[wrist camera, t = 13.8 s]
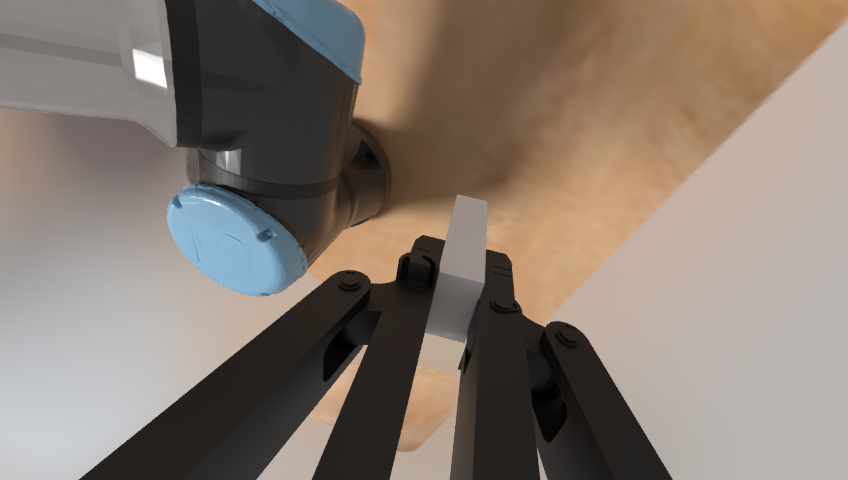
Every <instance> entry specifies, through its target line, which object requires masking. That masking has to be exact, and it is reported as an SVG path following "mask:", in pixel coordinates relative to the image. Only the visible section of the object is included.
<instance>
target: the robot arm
mask: <svg viewBox="0 0 848 480" xmlns="http://www.w3.org/2000/svg"><path fill="white" fill-rule="evenodd" d="M364 48H365V30H364V27H363V24H362V22H361V21H360V19H359V18H358V16H357V15H356V14H355V13H354V12H353V11H352V10H351V9H349V8H348V7H346V6H344V5H343V4H341V3H339V2H338V1H336V0H0V108H5V109H15V110H26V111H27V110H28V111H37V112H48V113H59V114H70V115H81V116H91V117H102V118H113V119H124V120H133V121H135V122H137V123H139V124H141V125H143V126H145V127H146V128H147V129H148V130H150V131H151V132H152V133H154V134H155V135H156V136H157V137H159V138H160V139H161V140H163V141H164V142H165V143H166V144H168V145H169V146H173V147H187V148H198V159H199V181H198V183H196V184H192V185H189V186H185V187H184V188H182V189H181V191H180V193H179V194H178V195H176V196H175V197H173V198H172V200H171V201H170V203H169V206H168V210H167V221H168V226H169V229H170V232H171V234H172V236H173V238H174V240H175V242H176V244H177V245H178V247H179V248H180V250H181V251H182V252H183V254H184V255H185V256H186V257H187V258H188V260H189V261H190V262H191V263H193V264H194V265H195V266H196V267H197V268H198V269H199V270H200V271H201V272H202V273H204V274H205V275H206V276H208V277H209V278H210V279H212V280H214V281H215V282H217V283H218V284H220V285H222V286H224V287H226V288H228V289H230V290H233V291H235V292H238V293H242V294H245V295H250V296H269V295H271V294H277V293H280V292H282V291H284V290H285V289H286V288H287V287H289V286H290V285H291V284H293V283H294V282H295V281H296V280H297V279H299V278H301V277H302V276H303V275H304V274H305V273H306V270H307V269H308V268H309V267H310V266H311V265H312V264H313V262H314V261H315V260H316V259H317V258H318V257H319V256H320V255H321V254H322V253H323V252H324V251H325V249H326V248H327V247H328V246H329V245H330V244H331V243H332V242H333V241H334V240H335V239H336V237H337V236H338V235H339V234H340V233H341V232H342V231H343V230H344V229H347V228H349V227H353V226H357V225H360V224H362V223H364V222H366V221H368V220H369V219H371V218H372V217H373V216H374V215H375V214H376V213H377V212H378V211H379V210H380V208H381V207H382V206H383V205H384V203H385V201H386V199H387V197H388V194H389V191H390V186H391V173H390V167H389V163H388V160H387V158H386V155H385V153H384V151H383V149H382V148H381V146H380V145H379V143H378V142H377V141H376V139H375V138H374V137H373V136H372V135H371V134H370V133H369V132H367V131H366V130H365V129H364V128H362V127H361V126H359V125H357V124H356V123H354V122H352V118H353V113H354V108H355V103H356V98H357V93H358V88H359V85H361V84H362V78H361V76H360V75H361V68H362V61H363V54H364ZM487 206H488V201H484V200H480V199H475V198H471V197H467V196H462V195H458V194H457V197H456V201H455V205H454V209H453V213H452V217H451V221H450V225H449V229H448V233H447V237H446V240H441V239H437V238H433V237H429V236H425V235H422V236H420V237H419V238H417V239H416V240H415V242H414V245H413V247H412V250H411V252H410V253H406V254H404V255H402V256H401V257H400V259H399V263H398V270H397V276H396V280H395V281H392V282H389V283H383V284H371V281H370V279H369V278H368V276H366V275H365V274H363V273H362V272H358V271H354V270H345V271H340V272H337V273H335V274H334V275H332V276H331V277H329V278H328V279H327V280H326V281H324V282H323V283H322V284H321V285H320V286H318V287H317V288H316V289H315V290H313V291H312V292H311V293H310V294H308V295H307V296H306V297H305V298H303V299H302V300H301V301H300V302H298V303H297V304H296V305H295V306H294V307H292V308H291V309H290V310H289V311H287V312H286V313H285V314H284V315H282V316H281V317H280V318H279V319H277V320H276V321H275V322H274V323H273V324H271V325H270V326H269V327H267V328H266V329H265V330H264V331H263V332H261V333H260V334H259V335H258V336H256V337H255V338H254V339H253V340H251V341H250V342H249V343H248V344H246V345H245V346H244V347H243V348H241V349H240V350H239V351H238V352H237V353H235V354H234V355H233V356H231V357H230V358H229V359H228V360H227V361H225V362H224V363H223V364H222V365H221V366H219V367H218V368H217V369H215V370H214V371H213V372H212V373H210V374H209V375H208V376H207V377H205V378H204V379H203V380H202V381H201V382H199V383H198V384H197V385H196V386H194V387H193V388H192V389H191V390H189V391H188V392H187V393H186V394H185V395H183V396H182V397H181V398H179V399H178V400H177V401H176V402H175V403H173V404H172V405H171V406H170V407H168V408H167V409H166V410H165V411H164V412H162V413H161V414H160V415H158V416H157V417H156V418H155V419H153V420H152V421H151V422H150V423H148V424H147V425H146V426H145V427H144V428H142V429H141V430H140V431H138V432H137V433H136V434H135V435H134V436H132V437H131V438H130V439H129V440H127V441H126V442H125V443H124V444H122V445H121V446H120V447H119V448H117V450H115V451H114V452H112V454H110V455H109V456H108V457H106V458H105V459H104V460H103V461H101V462H100V463H99V464H98V465H97V466H95V467H94V468H93V469H92V470H90V471H89V472H88V473H86V474H85V475H84V476H83V477H82V478H80V479H79V480H256V479H257V478H258V477H259V475H260V474H261V473H262V472H263V471H264V469H265V468H266V467H267V466H268V464H269V463H270V462H271V461H272V459H273V458H274V457H275V456H276V454H277V453H278V452H279V451H280V449H281V448H282V447H283V446H284V444H285V443H286V442H287V441H288V439H289V438H290V437H291V436H292V434H293V433H294V432H295V431H296V430H297V428H298V427H299V426H300V425H301V423H302V422H303V421H304V420H305V418H306V417H307V416H308V415H309V414H310V412H311V411H312V410H313V409H314V407H315V406H316V405H317V404H318V402H319V401H320V400H321V399H322V397H323V396H324V395H325V394H326V392H327V391H328V390H329V389H330V388H331V386H332V385H333V384H334V383H335V381H336V380H337V379H338V378H339V376H340V375H341V374H342V373H343V371H344V370H345V369H346V368H347V366H348V365H349V364H350V363H351V362H352V360H353V359H354V358H355V357H356V355H357V354H358V353H359V351H360V350H361V349H362V347H363V345H368V347H367V349H366V352H365V354H364V357H363V359H362V361H361V364H360V366H359V368H358V371H357V373H356V375H355V378H354V380H353V383H352V385H351V387H350V390H349V392H348V394H347V397H346V399H345V402H344V404H343V406H342V409H341V411H340V414H339V416H338V418H337V421H336V423H335V425H334V428H333V430H332V433H331V435H330V437H329V440H328V442H327V445H326V447H325V449H324V452H323V454H322V456H321V459H320V461H319V464H318V466H317V468H316V471H315V473H314V475H313V478H312V480H389V479H390V475H391V471H392V467H393V463H394V459H395V455H396V450H397V446H398V442H399V438H400V434H401V429H402V425H403V421H404V417H405V413H406V409H407V404H408V400H409V396H410V392H411V388H412V383H413V379H414V375H415V371H416V367H417V363H418V358H419V354H420V350H421V345H422V342H423V337H424V333H429V334H432V335H436V336H440V337H444V338H448V339H452V340H455V341H459V342H463V343H465V340H466V337H467V344H466V347H465V350H464V353H463V356H462V359H461V361H460V364H459V367H458V369H459V370H461V377H460V386H459V396H458V406H457V416H456V426H455V435H454V444H453V454H452V464H451V473H450V480H540V475H539V474H540V473H539V466H538V465H539V464H538V455H537V448H538V451H539V454H540V458H541V461H542V463H543V467H544V470H545V473H546V476H547V479H548V480H672V478H671V476H670V474H669V473H668V471H667V469H666V468H665V466H664V464H663V463H662V461H661V459H660V458H659V456H658V454H657V453H656V451H655V450H654V448H653V446H652V445H651V443H650V441H649V440H648V438H647V436H646V435H645V433H644V431H643V430H642V428H641V426H640V425H639V423H638V421H637V420H636V418H635V417H634V415H633V413H632V411H631V410H630V408H629V406H628V405H627V403H626V401H625V400H624V398H623V397H622V395H621V393H620V392H619V390H618V388H617V387H616V385H615V383H614V382H613V380H612V378H611V377H610V375H609V373H608V372H607V370H606V368H605V367H604V365H603V364H602V362H601V360H600V358H599V357H598V355H597V354H596V352H595V350H594V349H593V347H592V345H591V344H590V342H589V340H588V339H587V338H586V336H585V335H584V334H583V333H582V332H581V331H580V330H578V329H577V328H576V327H574V326H572V325H570V324H568V323H564V322H560V321H555V322H551V323H549V324H547V326H546V328H545V327H543V326H541V325H539V324H537V323H535V322H533V321H531V320H530V319H528V318H527V317H525V316H524V315H523V314H522V309H521V307H520V305H519V304H518V303H517V301H516V300H515V296H514V285H513V274H512V262H511V261H510V259H509V258H508V256H507V255H506V254H503V253H499V252H495V251H491V250H487V249H486V233H487ZM536 445H537V446H536Z"/></svg>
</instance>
